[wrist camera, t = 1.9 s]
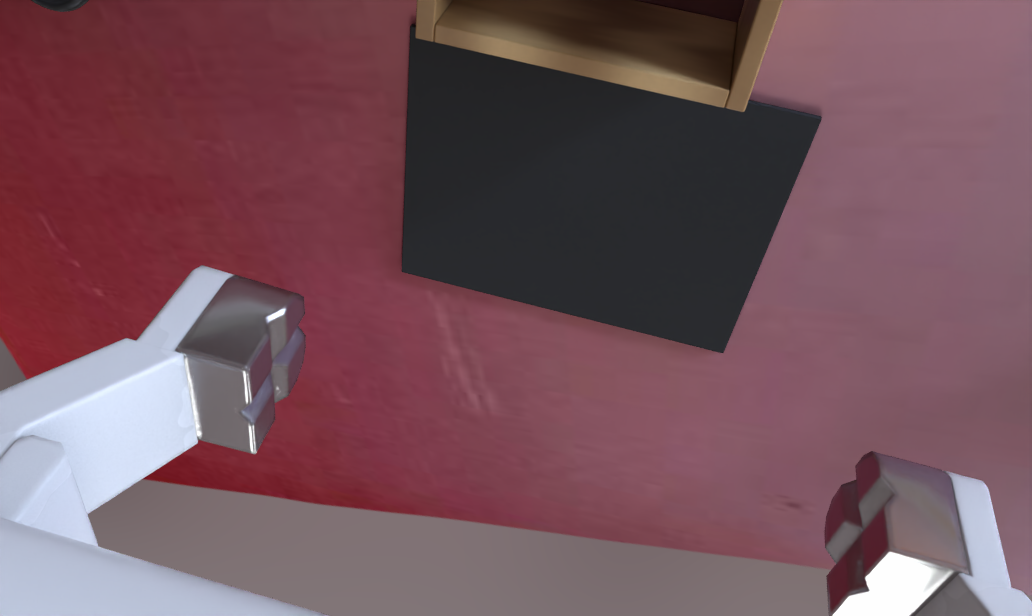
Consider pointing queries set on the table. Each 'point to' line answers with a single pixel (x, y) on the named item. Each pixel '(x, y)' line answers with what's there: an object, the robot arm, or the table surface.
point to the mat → (592, 192)
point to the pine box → (615, 42)
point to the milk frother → (61, 4)
